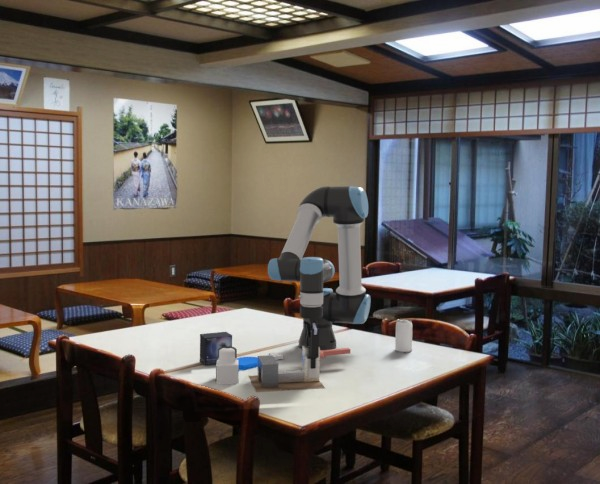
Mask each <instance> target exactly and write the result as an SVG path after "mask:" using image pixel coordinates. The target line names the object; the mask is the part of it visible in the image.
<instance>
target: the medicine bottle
mask: <svg viewBox="0 0 600 484" xmlns="http://www.w3.org/2000/svg"><path fill="white" fill-rule="evenodd" d="M237 352H238V351H237V348H236V347H234V346H232V347H231V346H225V347H221V348H219V349H218V360H217V363H216V364H215V384H216V385H229V384H230V385H235V384H237V385H238V384H239V370H238V360H237V358H238V356H237V355H238V354H237Z"/></svg>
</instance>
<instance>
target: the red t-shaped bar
mask: <svg viewBox="0 0 600 484" xmlns="http://www.w3.org/2000/svg"><path fill="white" fill-rule="evenodd" d="M349 354H351V348H349V347H342V348H334V349H331V350H320V360H322V359H323V358H324V357H331V356H339V355H340V356H341V355H349Z"/></svg>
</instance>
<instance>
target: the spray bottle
mask: <svg viewBox="0 0 600 484" xmlns="http://www.w3.org/2000/svg"><path fill="white" fill-rule="evenodd" d="M271 355H273V357H274V358H275V360H276V361H277V360H284V355H282V354H278V353H275V352H268V354H267V355H265V354H264V356H271ZM237 360H238V371H247V370H252V369H254V368H258V356H257V357H256V356H241V357H237Z"/></svg>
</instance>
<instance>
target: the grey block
mask: <svg viewBox="0 0 600 484" xmlns="http://www.w3.org/2000/svg"><path fill="white" fill-rule="evenodd" d="M257 357H258V367H257V375H258V380H259V381H261V386H262V388H274V387H278V371H279V362H277V360H275V358H274V357H273V355H271V356H265V355H257Z"/></svg>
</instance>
